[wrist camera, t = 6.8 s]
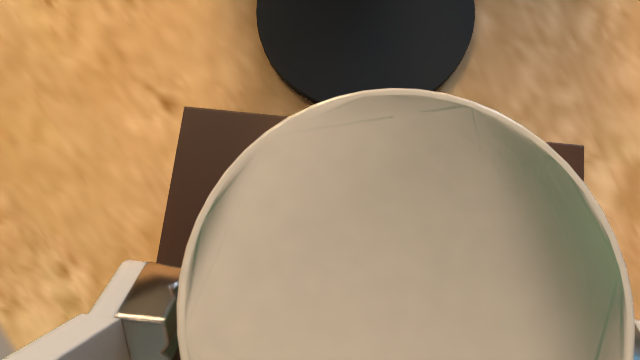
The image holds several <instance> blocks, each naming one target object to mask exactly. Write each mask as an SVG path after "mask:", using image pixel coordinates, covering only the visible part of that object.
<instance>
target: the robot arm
mask: <svg viewBox="0 0 640 360" xmlns="http://www.w3.org/2000/svg"><path fill="white" fill-rule="evenodd" d="M180 271H181V266H175V265H168V264H161V263H154V262H144V261H137V260H130V259H127V260H125V261H124V262H122V263H121V264H120V266H119V267H118V269H117V271H116V272H115V274H114V275H113V277H112V278H111V280H110V281H109V283H108V284H107V286H106V287H105V289H104V290H103V292H102V293H101V295H100V296H99V298H98V299H97V301H96V303H95V304H94V306H93V307H92V309H91V310H90V312H89V313H88V314H82V313H81V314H79V315H78V316H76V317H74V318H72V319H71V320H69V321H67V322H65V323H64V324H62V325H60V326H59V327H57V328H55V329H53V330H52V331H50V332H48V333H46V334H45V335H43V336H41V337H40V338H38V339H36V340H34V341H33V342H31V343H29V344H28V345H26V346H24V347H22V348H21V349H19V350H17V351H15V352H14V353H12V354H10V355H9V356H7V357H5V358H3V359H2V360H181V359H180V352H179V345H178V338H177V310H176V303H177V294H178V285H179V275H180ZM634 321H635V340H634V360H640V320H636V319H634Z"/></svg>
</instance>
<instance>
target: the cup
mask: <svg viewBox="0 0 640 360" xmlns="http://www.w3.org/2000/svg"><path fill="white" fill-rule="evenodd" d="M176 310H177V338H178V345H179V352H180V359H181V360H634V340H635V321H634V309H633V297H632V292H631V287H630V283H629V278H628V273H627V269H626V265H625V262H624V259H623V256H622V253H621V250H620V248H619V245H618V242H617V239H616V236H615V234H614V232H613V230H612V228H611V226H610V224H609V222H608V220H607V218H606V216H605V214H604V212H603V210H602V209H601V207H600V205H599V204H598V202H597V201H596V199H595V198H594V196H593V195H592V193H591V192H590V190H589V189H588V187H587V186H586V184H585V183H584V182H583V181H582V180H581V178H580V177H579V176H578V175H577V174H576V172H575V171H574V170H573V169H572V168H571V166H570V165H569V164H568V163H567V162H566V161H565V160H564V159H563V158H562V157H561V156H560V155H559V154H558V153H557V152H555V151H554V150H553V149H552V148H551V147H550V146H549V145H548V144H547V143H546V142H544V141H543V140H542V139H540V138H539V137H538V136H536V135H535V134H534V133H532V132H531V131H530V130H528V129H527V128H525V127H524V126H523V125H521V124H519V123H517V122H516V121H514V120H512V119H510V118H509V117H507V116H505V115H503V114H501V113H500V112H498V111H496V110H493V109H491V108H488V107H486V106H484V105H481V104H479V103H476V102H474V101H471V100H468V99H464V98H461V97H457V96H454V95H450V94H446V93H441V92H434V91H428V90H422V89H403V88H386V89H375V90H364V91H359V92H354V93H350V94H345V95H341V96H336V97H334V98H331V99H328V100H325V101H322V102H319V103H316V104H314V105H311V106H309V107H307V108H305V109H303V110H301V111H299V112H297V113H295V114H293V115H291V116H289V117H287V118H286V119H284V120H283V121H281V122H280V123H278V124H277V125H275V126H274V127H272V128H271V129H269V130H268V131H266V132H265V133H263V134H262V135H261V136H260V137H259V138H258V139H256V140H255V141H254V142H253V143H252V144H251V145H250V146H248V147H247V148H246V149H245V150H244V151H243V152H242V153H241V154H240V155H239V156H238V158H237V159H236V160H235V161H234V162H233V163H232V164H231V165H230V166H229V168H228V169H227V170H226V171H225V172H224V174H223V175H222V177H221V178H220V179H219V181H218V182H217V184H216V185H215V187H214V188H213V190H212V191H211V192H210V194H209V196H208V198H207V200H206V202H205V203H204V205H203V207H202V209H201V211H200V213H199V215H198V217H197V219H196V221H195V224H194V227H193V229H192V232H191V235H190V237H189V240H188V243H187V245H186V249H185V254H184V258H183V262H182V266H181V271H180V275H179V285H178V294H177V303H176Z"/></svg>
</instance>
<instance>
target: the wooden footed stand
mask: <svg viewBox="0 0 640 360" xmlns="http://www.w3.org/2000/svg"><path fill="white" fill-rule="evenodd" d="M286 118H287V116H277V115H267V114H256V113H246V112H236V111H226V110H216V109H205V108H195V107H184V112H183V118H182V123H181V129H180V134H179V140H178V146H177V151H176V157H175V162H174V168H173V173H172V179H171V184H170V190H169V195H168V201H167V206H166V212H165V218H164V223H163V229H162V234H161V240H160V245H159V251H158V256H157V262H156V263H161V264H168V265H175V266H182V262H183V258H184V254H185V249H186V245H187V243H188V240H189V237H190V235H191V232H192V229H193V227H194V224H195V221H196V219H197V217H198V215H199V213H200V211H201V209H202V207H203V205H204V203H205V202H206V200H207V198H208V196H209V194H210V192H211V191H212V190H213V188H214V187H215V185H216V184H217V182H218V181H219V179H220V178H221V177H222V175H223V174H224V172H225V171H226V170H227V169H228V168H229V166H230V165H231V164H232V163H233V162H234V161H235V160H236V159H237V158H238V156H239V155H240V154H241V153H242V152H243V151H244V150H245V149H246V148H247V147H248V146H250V145H251V144H252V143H253V142H254V141H255V140H256V139H258V138H259V137H260V136H261V135H262V134H263V133H265V132H266V131H268V130H269V129H271V128H272V127H274V126H275V125H277V124H278V123H280V122H281V121H283V120H284V119H286ZM546 143H547V144H548V145H549V146H550V147H551V148H552V149H553V150H554V151H555V152H557V153H558V154H559V155H560V156H561V157H562V158H563V159H564V160H565V161H566V162H567V163H568V164H569V165H570V166H571V168H572V169H573V170H574V171H575V172H576V174H577V175H578V176H579V177H580V178H581V180H582V181H583V182H584V146H583V145H573V144H562V143H552V142H546Z"/></svg>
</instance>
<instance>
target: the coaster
mask: <svg viewBox="0 0 640 360" xmlns="http://www.w3.org/2000/svg"><path fill="white" fill-rule="evenodd" d="M474 19H475V6H474V0H257V26H258V31H259V36H260V39H261V42H262V45H263V48H264V51H265V53H266V55H267V57H268V59H269V61H270V63H271V65H272V66H273V67H274V69H275V70H276V72H277V73H278V74H279V76H280V77H281V78H282V79H283V80H284V81H285V82H286V83H287V84H288V85H289V86H290V87H292V88H293V89H294V90H295V91H297V92H298V93H299V94H301V95H302V96H304V97H306V98H307V99H309V100H311V101H312V102H315V103H319V102H322V101H325V100H328V99H331V98H334V97H336V96H341V95H345V94H350V93H354V92H359V91H364V90H375V89H386V88H403V89H422V90H428V91H435V90H437V89H438V88H439V87H440V86H441V85H442V84H443V83H444V82H446V81H447V79H448V78H449V77H450V76H451V75H452V73H453V72H454V71H455V70H456V68H457V66H458V65H459V63H460V62H461V60H462V58H463V57H464V55H465V52H466V50H467V48H468V46H469V43H470V40H471V36H472V33H473V27H474Z"/></svg>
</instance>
